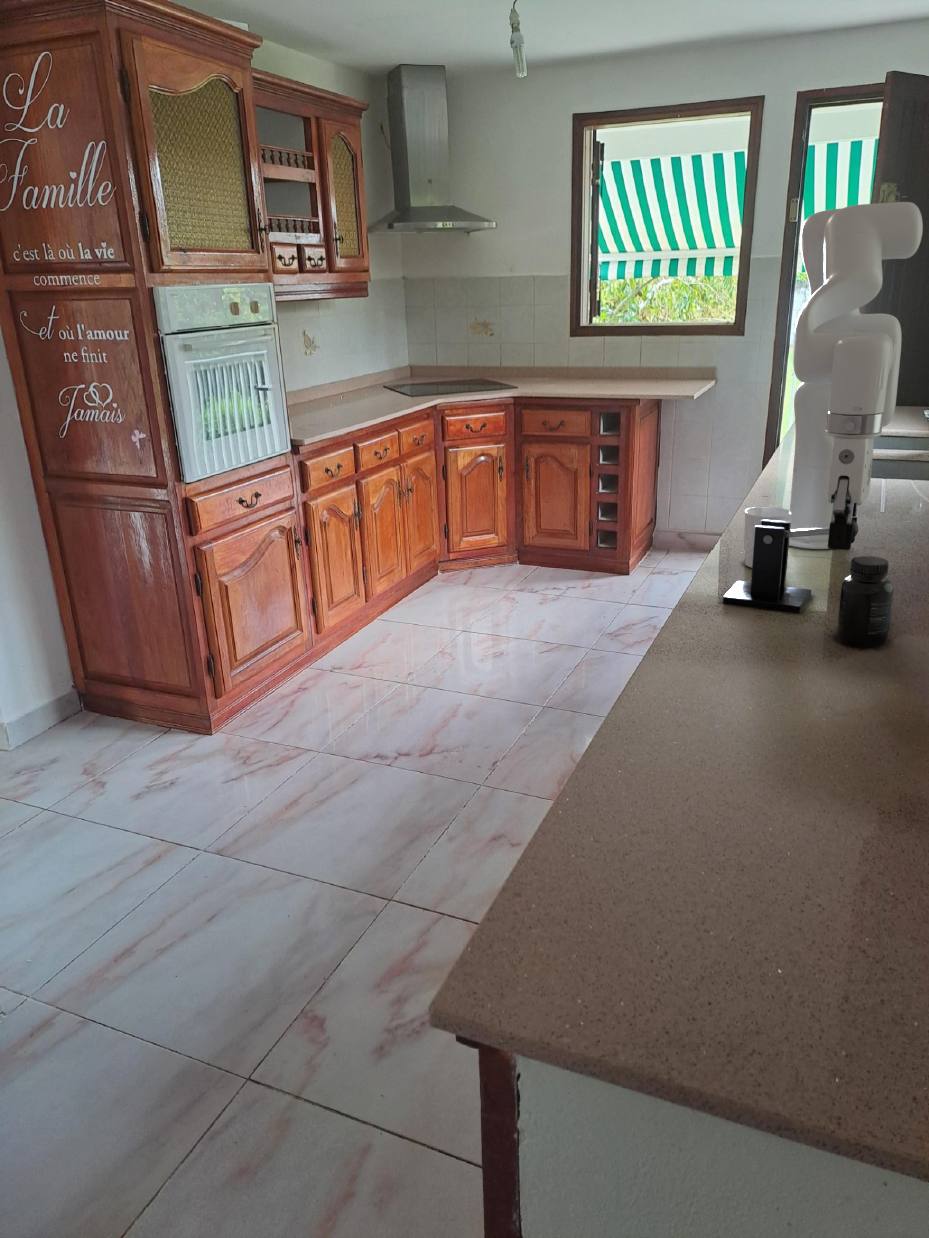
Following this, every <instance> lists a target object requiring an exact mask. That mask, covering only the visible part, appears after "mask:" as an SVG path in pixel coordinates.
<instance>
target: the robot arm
mask: <svg viewBox="0 0 929 1238" xmlns="http://www.w3.org/2000/svg"><path fill="white" fill-rule="evenodd" d="M923 229H924V223H923V217H922V212H921V209H920V208H919V207H918V205H916V204H915V203H914V202H911V201H896V202H895V201H894V202H893V201H892V202H881V203H863V204H854V205H853V204H852V205H849V206H846V207H843V208H834V209H833V208H832V209H827V210H826V209H825V210H822V211H818V212H816V213H812V214H811V215H810V216H808V217H807V218H806V219H805V220H804V222H803V224H802V227H801V231H800V252H801V259H802V263H803V268H804V270H805V274H806V277H807V281H808V286H809V287H808V288H809V298H808V300H807V301H806V302H805V303H804V305H803V306H802V308H801V309H800V310H799V313H798V315H797V318H796V321H795V326H794V332H793V355H792V356H793V358H792V359H793V360H792V362H793V363H792V364H793V371H794V375H795V377H796V379H797V380H798V381H799V382H801V383H800V384H799V386H798V387H796V390H795V392H794V399H793V401H794V402H793V409H794V410H793V411H794V422H795V423H794V426H795V428H794V429H795V437H794V438H795V439H794V440H795V441H794V455H793V466H792V467H793V468H792V479H791V491H790V503H789V511H790V512H791V516H790V522H791V526H790V530H795V529H807V528H820V527H830V528H829V535H816V536H803V537H790V538H789V547H795V548H800V549H808V550H809V549H810V550H829V549H831V550H842V551H849V550H851V547H852V544H854V542H855V540H856V536H855V537H854V538H853V539H852V531H853V524H851V522H852V519H853V520H854V521H855V522H856V523H857V524H858V516H857V515H858V507H860V506H862V505H863V504H864V503H865V502H866V500H867V499H868V497H869V495H870V491H871V481H872V480H871V479H872V468H873V460H874V459H873V458H874V446H875V445H874V443H875V442H874V441H875V440H874V439H875V438H878V437H881V436H882V431H883V428H885V427H887V426H888V425H889V424H890V423H891V422H892V420H893V417H894V415H895V411H896V406H897V405H896V404H897V395H898V386H899V385H898V383H899V375H900V364H901V355H902V354H901V352H902V340H903V339H902V326H901V323H900V321H899V320H898V318H897V317H895V315H892V314H889V313H861V311H860V308H862V307H864V306H866V305H867V304H869V303H870V302H871V301H873V300H874V299H876V297H877V296H878V294H879V293H880V291H881V290H882V286H883V281H884V280H883V278H884V277H883V265H882V264H883V263H882V262H883V260H897V259H899V260H904V259H905V260H906V259H909V258H911V257H913V256H914V255H915V254H916V252H917V251H918V250H919V247H920V244H921V242H922V238H923V232H924V231H923Z"/></svg>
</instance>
